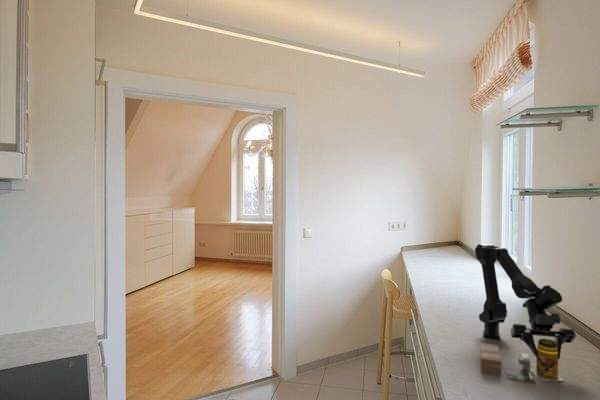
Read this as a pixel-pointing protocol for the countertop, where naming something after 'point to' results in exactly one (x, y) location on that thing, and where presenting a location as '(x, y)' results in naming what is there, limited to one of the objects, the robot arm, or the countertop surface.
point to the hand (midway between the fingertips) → (547, 357)
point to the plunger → (525, 363)
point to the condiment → (547, 361)
